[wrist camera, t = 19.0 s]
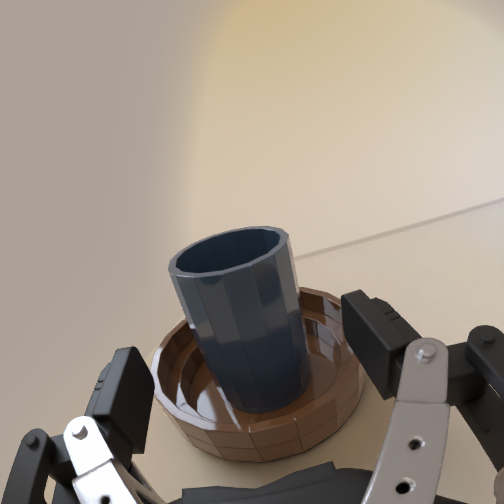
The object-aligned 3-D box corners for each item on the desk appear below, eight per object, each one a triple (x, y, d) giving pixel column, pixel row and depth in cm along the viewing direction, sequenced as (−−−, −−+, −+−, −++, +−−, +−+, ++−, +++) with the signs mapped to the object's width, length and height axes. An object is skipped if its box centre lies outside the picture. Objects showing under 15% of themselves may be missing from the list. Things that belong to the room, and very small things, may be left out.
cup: (208, 411, 17) (146, 283, 14) (231, 349, 23) (194, 236, 20) (309, 411, 15) (282, 266, 12) (312, 343, 22) (291, 219, 18)
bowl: (145, 450, 15) (114, 415, 14) (204, 330, 28) (191, 295, 26) (373, 460, 11) (380, 424, 10) (353, 315, 24) (350, 276, 23)
